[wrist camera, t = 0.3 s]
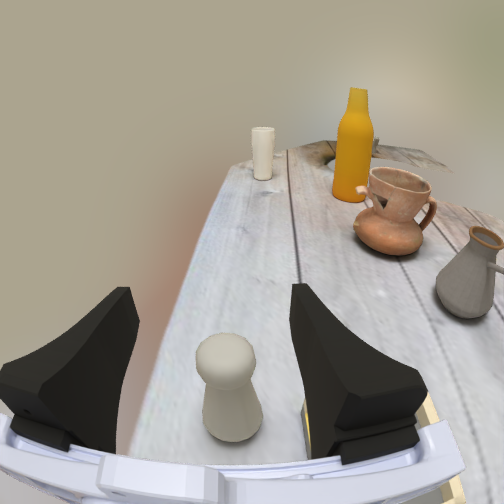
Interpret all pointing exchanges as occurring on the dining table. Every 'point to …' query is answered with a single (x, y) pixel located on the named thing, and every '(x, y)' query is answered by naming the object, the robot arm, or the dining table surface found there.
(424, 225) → the ceramic jug
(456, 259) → the coffee pot
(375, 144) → the lighter
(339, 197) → the beer bottle
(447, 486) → the tray
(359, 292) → the dining table surface
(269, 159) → the drinking glass
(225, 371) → the salt shaker
